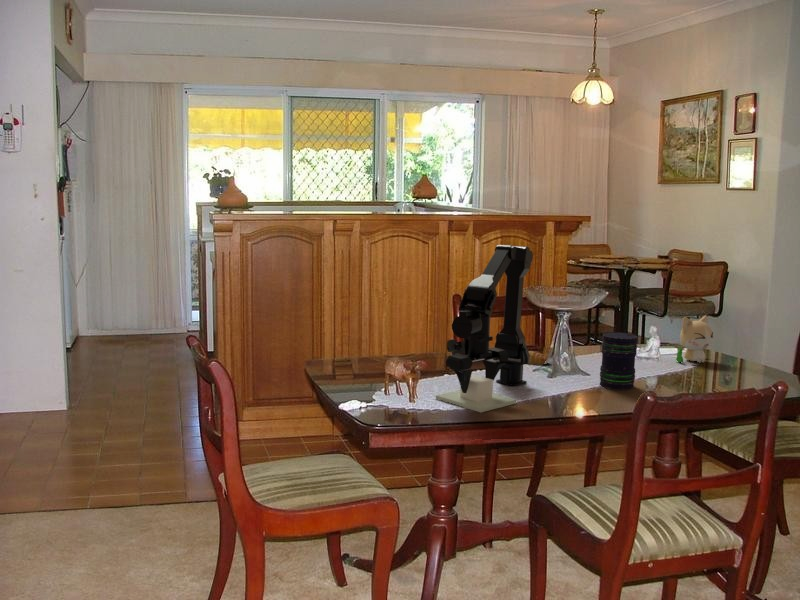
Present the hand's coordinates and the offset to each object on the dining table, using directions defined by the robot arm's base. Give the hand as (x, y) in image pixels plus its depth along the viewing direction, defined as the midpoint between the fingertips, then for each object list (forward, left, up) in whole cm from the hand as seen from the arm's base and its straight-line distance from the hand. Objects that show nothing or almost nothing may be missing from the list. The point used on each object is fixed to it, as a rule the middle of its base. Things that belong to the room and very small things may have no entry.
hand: (476, 390), depth 223 cm
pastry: (-50, -20, -4) cm, 54 cm away
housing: (0, 0, -2) cm, 2 cm away
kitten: (-95, +11, -3) cm, 96 cm away
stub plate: (0, 0, -3) cm, 3 cm away
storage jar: (-45, +14, -3) cm, 47 cm away
